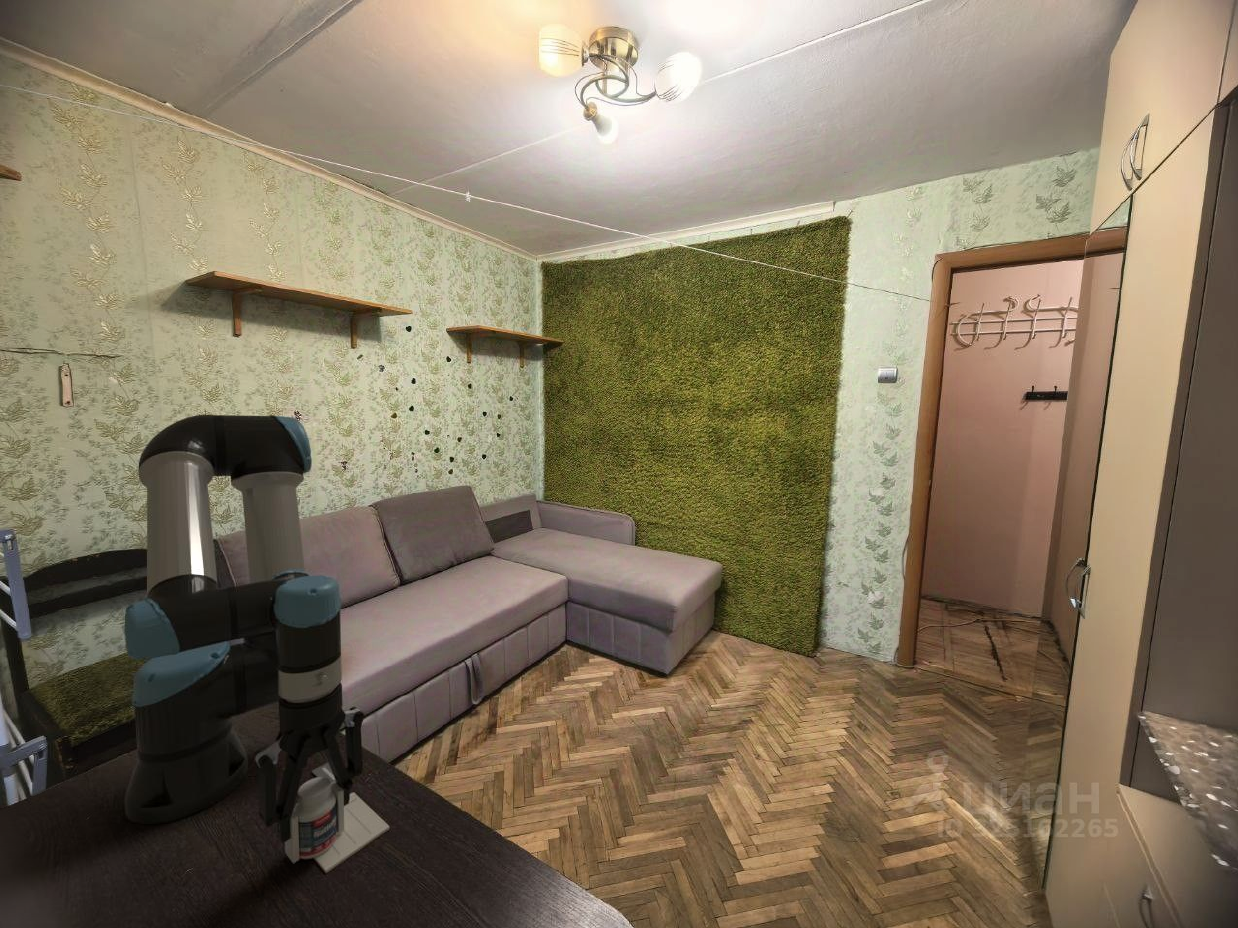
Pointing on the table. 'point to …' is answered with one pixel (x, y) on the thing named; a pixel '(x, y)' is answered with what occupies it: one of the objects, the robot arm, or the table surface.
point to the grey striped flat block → (324, 772)
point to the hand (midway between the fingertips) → (315, 840)
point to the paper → (353, 833)
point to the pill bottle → (316, 817)
